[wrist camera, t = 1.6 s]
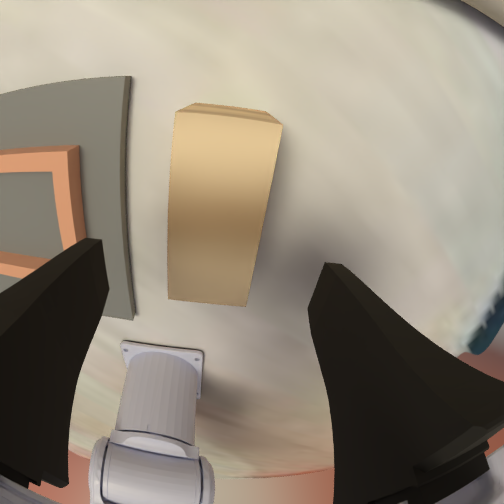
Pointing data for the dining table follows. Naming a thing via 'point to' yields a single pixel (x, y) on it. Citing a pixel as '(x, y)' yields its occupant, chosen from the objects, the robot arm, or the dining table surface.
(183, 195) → the oak block
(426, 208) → the dining table surface
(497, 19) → the tube
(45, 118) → the socket plate
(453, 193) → the dining table surface
